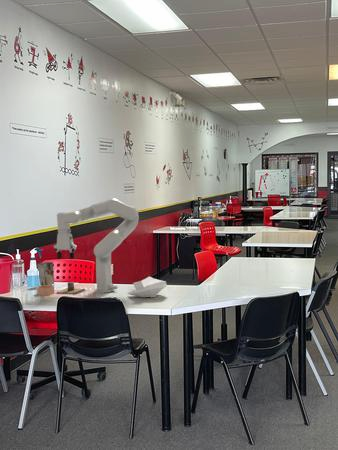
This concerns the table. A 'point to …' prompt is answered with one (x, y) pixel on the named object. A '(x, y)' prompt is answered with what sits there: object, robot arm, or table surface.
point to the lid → (70, 289)
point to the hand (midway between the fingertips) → (65, 258)
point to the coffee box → (46, 273)
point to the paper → (147, 287)
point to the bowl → (45, 290)
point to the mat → (75, 294)
